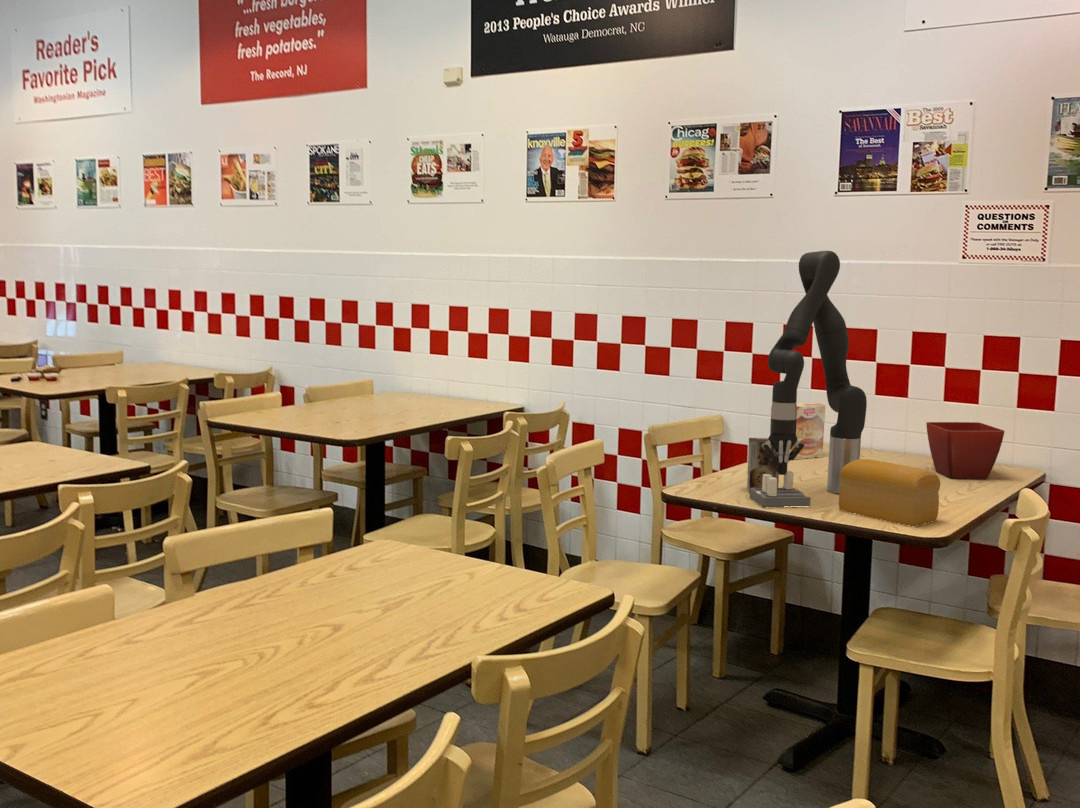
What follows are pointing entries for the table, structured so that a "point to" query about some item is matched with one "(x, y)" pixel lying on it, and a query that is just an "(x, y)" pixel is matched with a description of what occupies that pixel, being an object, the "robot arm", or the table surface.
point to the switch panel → (780, 498)
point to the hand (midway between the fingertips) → (781, 474)
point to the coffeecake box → (810, 429)
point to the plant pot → (964, 448)
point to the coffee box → (759, 463)
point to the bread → (889, 492)
